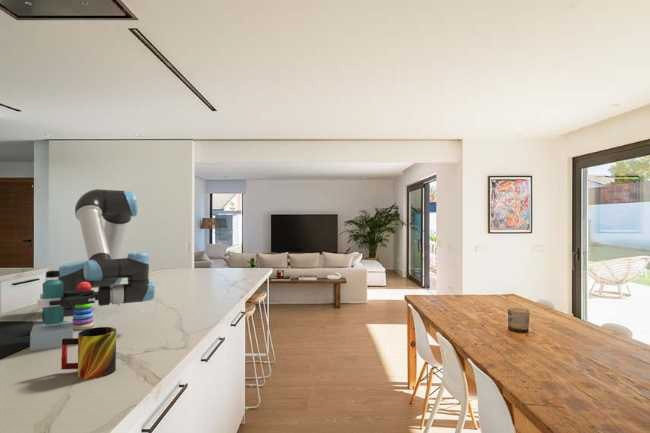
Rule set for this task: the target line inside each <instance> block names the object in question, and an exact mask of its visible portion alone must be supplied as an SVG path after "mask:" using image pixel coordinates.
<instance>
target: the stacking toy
mask: <svg viewBox="0 0 650 433" xmlns="http://www.w3.org/2000/svg"><path fill="white" fill-rule="evenodd" d="M87 290H92V288H91V284H90V283H88V282H81V283H80V284H78V286H77V291H87ZM92 307H93V303H88V304H81V305H75V308H76V309H75V310H74V315H72V319H71V321H73V331H74V330H75V331H80V330H81V331H83V330H87V329H91V328H94V324H95V322H93V321H94V318H93V316H94V314H93V308H92Z"/></svg>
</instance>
